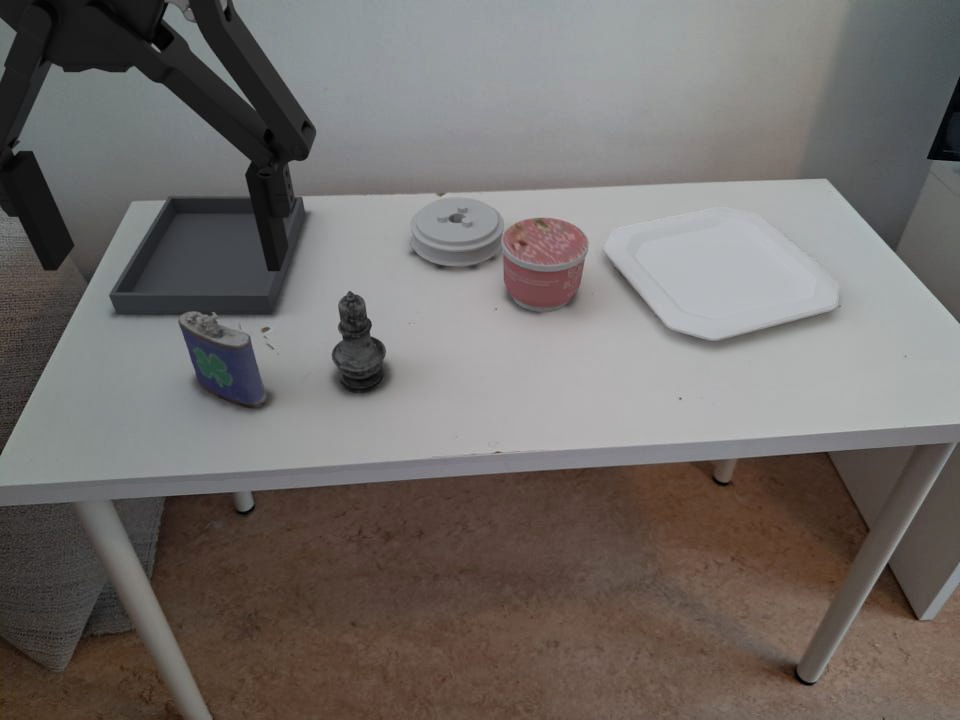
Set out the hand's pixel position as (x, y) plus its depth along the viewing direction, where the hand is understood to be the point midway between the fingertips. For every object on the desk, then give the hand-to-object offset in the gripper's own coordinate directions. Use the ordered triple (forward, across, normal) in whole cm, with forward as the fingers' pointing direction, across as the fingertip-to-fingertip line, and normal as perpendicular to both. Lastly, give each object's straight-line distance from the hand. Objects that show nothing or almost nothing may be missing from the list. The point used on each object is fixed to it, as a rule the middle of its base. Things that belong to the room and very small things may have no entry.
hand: (169, 258), depth 45 cm
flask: (+31, +8, -19) cm, 37 cm away
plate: (+31, -50, -40) cm, 71 cm away
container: (+31, -27, -36) cm, 55 cm away
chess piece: (+31, -6, -21) cm, 38 cm away
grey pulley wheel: (+31, -16, -47) cm, 59 cm away
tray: (+31, +16, -44) cm, 56 cm away
